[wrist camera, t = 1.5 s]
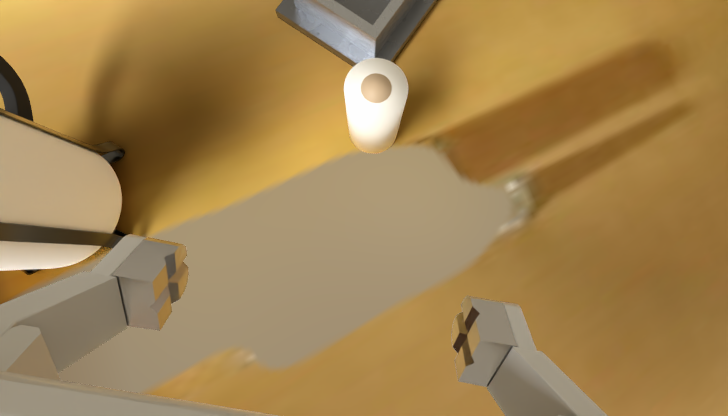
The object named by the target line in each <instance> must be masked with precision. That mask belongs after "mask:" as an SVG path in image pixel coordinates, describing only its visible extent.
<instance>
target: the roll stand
mask: <svg viewBox="0 0 728 416" xmlns="http://www.w3.org/2000/svg"><path fill="white" fill-rule="evenodd" d="M437 1H438V0H283V1H282V2H281V4H280V5H279V6H278V7H277V9H276V13H277V16H278V17H279V18H280V19H282V20H283V21H285V22H286V23H288V24H289V25H291V26H292V27H294V28H295V29H297V30H298V31H300V32H301V33H303V34H304V35H306V36H307V37H309V38H310V39H312V40H313V41H315V42H316V43H318V44H320V45H321V46H323V47H324V48H326V49H327V50H329V51H330V52H332V53H333V54H335V55H336V56H338V57H339V58H341V59H342V60H344V61H345V62H347V63H348V64H350V65H351V66H353V67H354V66H355V65H356V64H358V63H359V62H361V61H363V60H366V59H370V58H382V59H386V60H389V61H391V62H393V61H394V60H395V59H396V57H397V56H398V54H399V53H400V52H401V50H402V49H403V48H404V46H405V45H406V43H407V42H408V41H409V39H410V38H411V37H412V35H413V34H414V32H415V31H416V30H417V28H418V27H419V26H420V24H421V23H422V21H423V20H424V19H425V17H426V16H427V15H428V13H429V12H430V10H431V9H432V8H433V6H434V5H435V4H436V2H437Z"/></svg>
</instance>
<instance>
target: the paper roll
mask: <svg viewBox="0 0 728 416" xmlns="http://www.w3.org/2000/svg"><path fill="white" fill-rule="evenodd" d="M344 94H345V103H346V111H347V120H348V128H349V135H350V139H351V141H352V143H353V144H354V145H355V146H356V147H357V148H358V149H359V150H361V151H363V152H365V153H370V154H377V153H381V152H383V151H385V150H387V149H388V148H390V147H391V146H392V144H393V143H394V141H395V139H396V136H397V133H398V129H399V125H400V122H401V118H402V114H403V111H404V107H405V103H406V100H407V96H408V82H407V78H406V76H405V74H404V73H403V71H402V70H401V69H400V68H399V67H398V66H397V65H396V64H395V63H393V62H391V61H389V60H386V59H382V58H370V59H366V60H363V61H361V62H359V63H358V64H356V65H355V66H354V67H353V68H352V69H351V70H350V71H349V73H348V75H347V77H346V79H345V83H344Z"/></svg>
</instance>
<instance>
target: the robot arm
mask: <svg viewBox="0 0 728 416" xmlns="http://www.w3.org/2000/svg"><path fill="white" fill-rule="evenodd" d="M186 256H187V250H186V246H185V245H183V244H178V243H174V242H169V241H164V240H159V239H154V238H149V237H148V238H147V237H142V236H138V235H133V234H129V235H126V236H124V237H123V238H122V239H121V240H120V241H119V242H118V244H117V245H116V246H115V247H114V248H113V249H112V250H111V251H110V252H109V253H108V254H107V255H106V256H105V257H104V258H103V259H102V260H101V261H100V262H99V263H98V264H97V265H96V266H95V267H94V268H93V269H92V270H91V271H90V272H84V271H83V272H81V273H79V274H76V275H73V276H71V277H68V278H66V279H63V280H61V281H58V282H56V283H53V284H51V285H48V286H46V287H43V288H41V289H38V290H36V291H33V292H31V293H28V294H26V295H23V296H21V297H18V298H16V299H13V300H11V301H8V302H6V303H3V304H1V305H0V416H277V415H271V414H265V413H259V412H253V411H246V410H240V409H234V408H228V407H222V406H216V405H209V404H203V403H197V402H191V401H185V400H178V399H172V398H166V397H160V396H154V395H148V394H141V393H135V392H129V391H123V390H116V389H110V388H104V387H98V386H92V385H86V384H79V383H73V382H67V381H61V379H60V377H59V375H58V373H59V372H61V371H63V370H64V369H65V368H67V367H69V366H70V365H72V364H73V363H75V362H76V361H78V360H79V359H81V358H82V357H84V356H85V355H87V354H88V353H90V352H92V351H93V350H94V349H96V348H97V347H99V346H100V345H102V344H104V343H105V342H107V341H108V340H110V339H111V338H113V337H114V336H116V335H117V334H118V333H120V332H122V331H123V330H125V329H127V326H131V327H138V328H145V329H153V330H159V331H160V329H161V328H162V327H163V325H164V323H165V322H166V320H167V319H168V317H169V315H170V314H171V312H172V308H171V304H172V303H174V302H176V301H178V300H179V299H180V298H181V296H182V294H183V292H184V291H185V288H186V285H187V282H188V275H189V272H188V267H187V265H186V264H185V263H184V262H183V261H184V259H185V258H186ZM461 306H462V311H463V312H461V313H459V314H458V315H456V317H455V320H454V322H453V327H452V346H453V348H454V349H455V350H456V352H457V353H458V355H457V357H456V359H455V365H456V371H457V377H458V381H459V382H464V383H470V384H475V385H480V386H485V387H487V389H488V391H489V392H490V394H491V395H492V397H493V398H494V400H495V401H496V403H497V404H498V405H499V407H500V408H501V410H502V411H503V413H504V414H505V416H607V415H606V414H605V413H604V412H603V411H602V410H601V409H600V408H599V407H598V406H597V405H596V404H595V403H594V402H593V401H592V400H591V399H590V398H589V397H588V396H587V395H586V394H585V393H584V392H583V391H582V390H581V389H580V388H579V387H578V386H577V385H576V384H575V383H574V382H573V381H572V380H571V379H570V378H568V377H567V376H566V375H565V374H564V373H563V372H562V371H561V370H560V369H559V368H558V367H557V366H556V365H555V364H554V363H553V362H552V361H551V360H550V359H549V358H548V357H547V356H546V355H545V354H544V353H543V352H541V351H537V349H536V347H535V344H534V342H533V339H532V336H531V334H530V331H529V328H528V326H527V323H526V320H525V318H524V315H523V313H522V310H521V307H520V306H519V305H518V304H514V303H508V302H502V301H500V302H499V301H495V300H489V299H483V298H478V297H472V296H466V297H465V298H464V300H463V302H462V304H461Z"/></svg>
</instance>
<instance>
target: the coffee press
mask: <svg viewBox="0 0 728 416" xmlns="http://www.w3.org/2000/svg"><path fill="white" fill-rule="evenodd" d="M0 92H1V94H2V97H3V100H4V105H5V110H3V109H1V108H0V270H21V271H23V272H24V273H26V274H27V275H30V274H33V273H35V272H37V271H38V270H39V269H49V268H59V267H65V266H69V265H72V264H75V263H78V262H80V261H82V260H84V259H86V258H88V257H89V256H91V255H92V254H94V253H95V252H96V251H97V250H98V249H100V248H101V247H102V246H105V247H109V248H112V249H113V248H114V247H115V246H116V245H117V244H118V242H119V241H120V240H121V239H122V238H123V237H124V236H126V235H127V234H125V233H123V232H121V231H118V230H116V229H115V227H116V225H117V223H118V220H119V217H120V213H121V207H122V193H121V187H120V184H119V181H118V178H117V176H116V174H115V172H114V170H113V169H112V167H111V166H110V164H112V163H114V162H117V161H119V160H120V159H121V158H122V157H123V156H124V153H125V151H124V149H123V148H121V147H120V146H118V145H117V144H115V143H114V142H112V141H109V142H105V143H102V144H98V145H90V144H87V143H84V142H81V141H79V140H76V139H74V138H71V137H69V136H66V135H64V134H61V133H59V132H57V131H54V130H52V129H49V128H47V127H44V126H42V125H40V124H37V123H35V122H33V115H32V110H31V105H30V101H29V97H28V94H27V92H26V89H25V87H24V85H23V83H22V81H21V79H20V78H19V76H18V75H17V73H16V72H15V71H14V69H13V68H12V67H11V66H10V65H9V64H8V63H7V62H6V61H5V60H4V59H3V58H2V57H1V56H0ZM96 152H98V153H107V154H105V155H102V156H100V155H99V154H98V153H96Z"/></svg>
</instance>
